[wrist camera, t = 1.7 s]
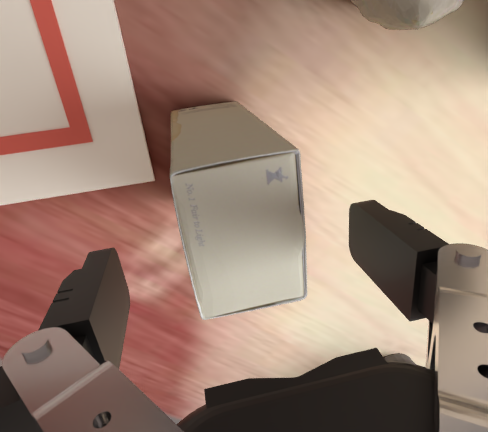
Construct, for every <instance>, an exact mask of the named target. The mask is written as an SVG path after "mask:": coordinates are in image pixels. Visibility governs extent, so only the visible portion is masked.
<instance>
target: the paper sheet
mask: <svg viewBox="0 0 488 432" xmlns="http://www.w3.org/2000/svg"><path fill="white" fill-rule="evenodd" d="M151 181H155V177H154V172H153V168H152V164H151V159H150V155H149V151H148V146H147V142H146V138H145V133H144V129H143V125H142V120H141V116H140V112H139V107H138V103H137V99H136V94H135V90H134V86H133V81H132V77H131V73H130V68H129V64H128V60H127V55H126V51H125V47H124V42H123V38H122V34H121V29H120V25H119V21H118V16H117V12H116V8H115V3H114V0H0V205H6V204H12V203H19V202H25V201H31V200H37V199H44V198H50V197H56V196H63V195H69V194H75V193H81V192H88V191H94V190H100V189H107V188H113V187H119V186H125V185H132V184H138V183H144V182H151Z"/></svg>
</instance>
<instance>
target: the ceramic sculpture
mask: <svg viewBox="0 0 488 432" xmlns="http://www.w3.org/2000/svg"><path fill="white" fill-rule="evenodd" d="M351 1H352V3H353V4H355V5H356V6H357V7H358V8H359V10H360V12H361V13H362V15H363V16H364V17H365V18H366V19H368V20H369V21H372V22H375V23H378V24H380V25H381V26H383V27H384V28H386V29H392V30H408V29H419V28H423V27H426V26H428V25H430V24H433V23H434V22H436V21H438V20H439V19H441V18H442V17H444V16H445V15H447V14H449V13H451V12H453V11H455V10H457V9H458V8H459V7H460V6H461V4H462V2H463V1H464V0H351Z"/></svg>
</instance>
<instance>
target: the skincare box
mask: <svg viewBox="0 0 488 432" xmlns="http://www.w3.org/2000/svg"><path fill="white" fill-rule="evenodd" d="M170 182H171V189H172V195H173V201H174V206H175V211H176V216H177V221H178V226H179V231H180V236H181V240H182V245H183V249H184V253H185V257H186V262H187V266H188V270H189V274H190V278H191V282H192V286H193V290H194V294H195V298H196V302H197V306H198V309H199V313H200V316H201V318H202V319H203V320H206V319H212V318H218V317H222V316H227V315H233V314H238V313H243V312H248V311H253V310H257V309H263V308H268V307H272V306H277V305H281V304H286V303H291V302H296V301H300V300H303V299H305V298H306V296H307V263H306V231H305V218H304V202H303V188H302V173H301V160H300V151H299V149H297V148H296V147H295V146H294V145H292V144H291V143H290V142H288V141H287V140H286V139H284V138H283V137H282V136H280V135H279V134H278V133H277V132H276V131H274V130H273V129H272V128H270V127H269V126H268V125H267V124H265V123H264V122H263V121H261V120H260V119H259V118H258V117H256V116H255V115H254V114H252V113H251V112H250V111H248V110H247V109H246V108H245V107H244V106H242V105H241V104H240V103H238V102H236V101H235V102H227V103H219V104H211V105H205V106H197V107H191V108H186V109H180V110H174V111H172V112H171V166H170Z"/></svg>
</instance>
